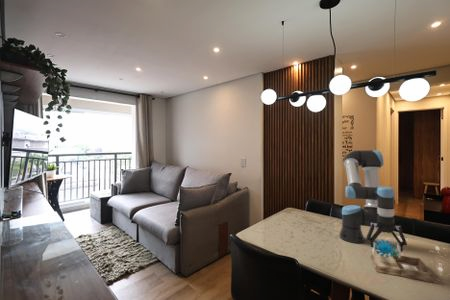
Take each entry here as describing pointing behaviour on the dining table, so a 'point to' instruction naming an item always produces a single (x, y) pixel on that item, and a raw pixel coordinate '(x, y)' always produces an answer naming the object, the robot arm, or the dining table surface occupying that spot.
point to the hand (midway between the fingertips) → (386, 254)
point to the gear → (385, 248)
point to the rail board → (402, 267)
